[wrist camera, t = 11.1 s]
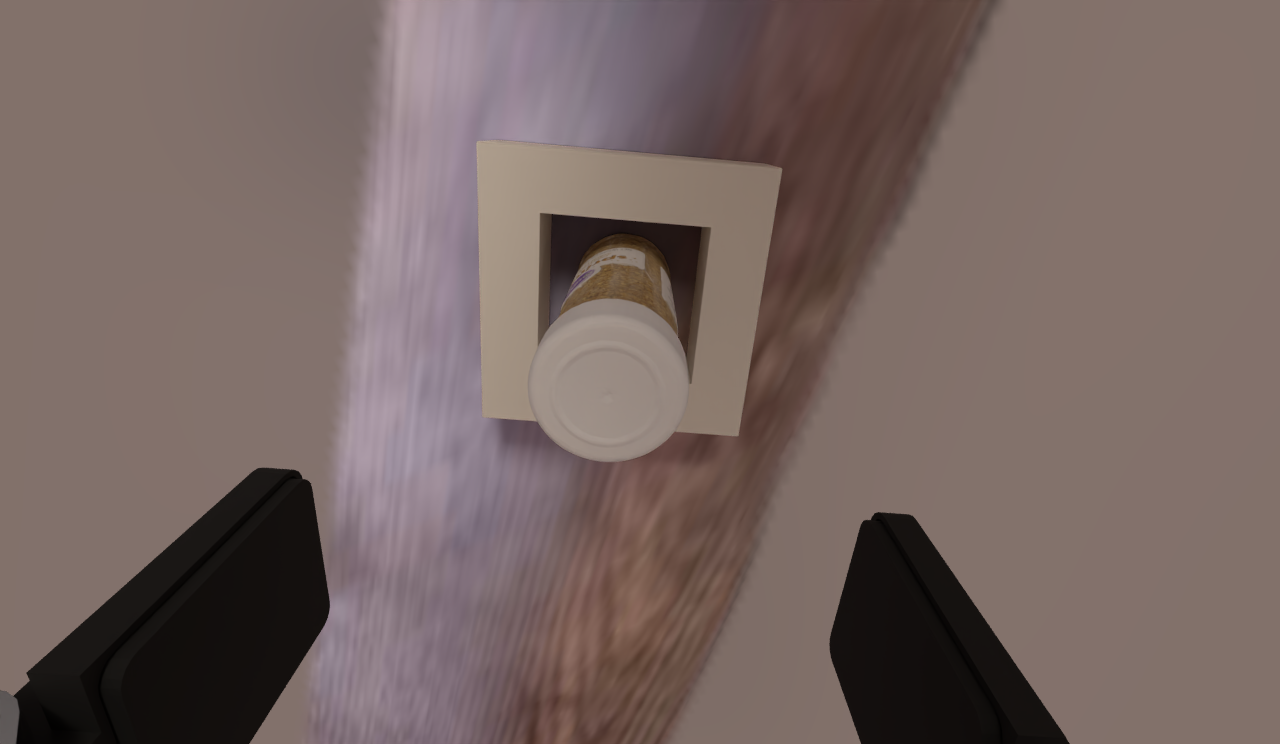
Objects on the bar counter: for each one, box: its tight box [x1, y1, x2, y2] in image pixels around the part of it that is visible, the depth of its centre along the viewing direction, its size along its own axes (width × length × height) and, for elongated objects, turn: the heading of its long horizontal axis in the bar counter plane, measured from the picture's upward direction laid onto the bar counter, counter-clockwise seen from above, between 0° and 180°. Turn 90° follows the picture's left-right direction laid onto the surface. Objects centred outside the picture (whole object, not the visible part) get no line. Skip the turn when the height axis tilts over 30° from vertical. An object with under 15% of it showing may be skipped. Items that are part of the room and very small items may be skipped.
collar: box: [477, 140, 782, 436], centre depth 27 cm, size 12×12×4 cm
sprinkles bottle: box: [528, 234, 689, 462], centre depth 22 cm, size 5×5×13 cm
